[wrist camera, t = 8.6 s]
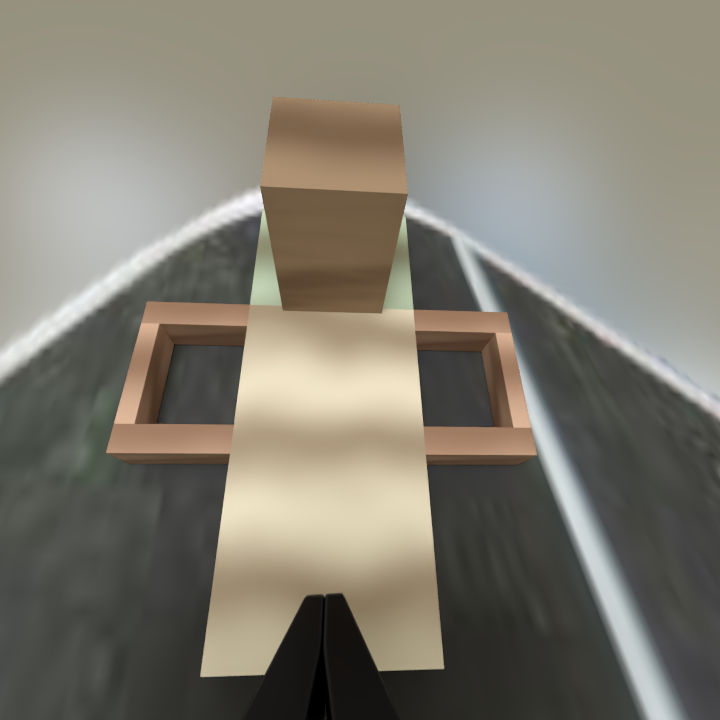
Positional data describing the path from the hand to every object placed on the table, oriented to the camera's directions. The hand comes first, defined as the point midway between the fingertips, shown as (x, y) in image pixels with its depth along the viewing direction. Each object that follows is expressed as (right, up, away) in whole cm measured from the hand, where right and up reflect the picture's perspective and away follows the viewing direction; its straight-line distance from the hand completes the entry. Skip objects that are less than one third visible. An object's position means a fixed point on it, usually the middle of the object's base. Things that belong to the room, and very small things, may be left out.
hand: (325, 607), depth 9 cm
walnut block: (-1, +11, +17) cm, 20 cm away
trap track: (-1, +3, +15) cm, 16 cm away
